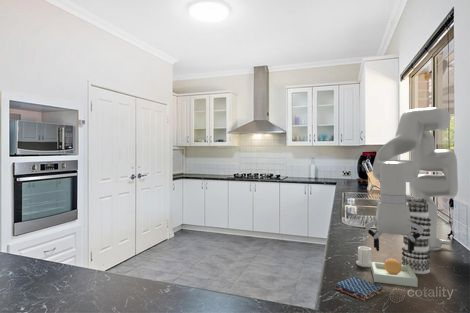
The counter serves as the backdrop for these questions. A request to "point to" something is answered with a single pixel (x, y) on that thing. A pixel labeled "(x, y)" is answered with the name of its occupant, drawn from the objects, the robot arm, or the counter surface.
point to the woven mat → (359, 288)
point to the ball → (392, 266)
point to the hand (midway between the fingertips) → (393, 251)
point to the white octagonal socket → (364, 256)
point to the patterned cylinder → (421, 247)
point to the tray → (402, 278)
